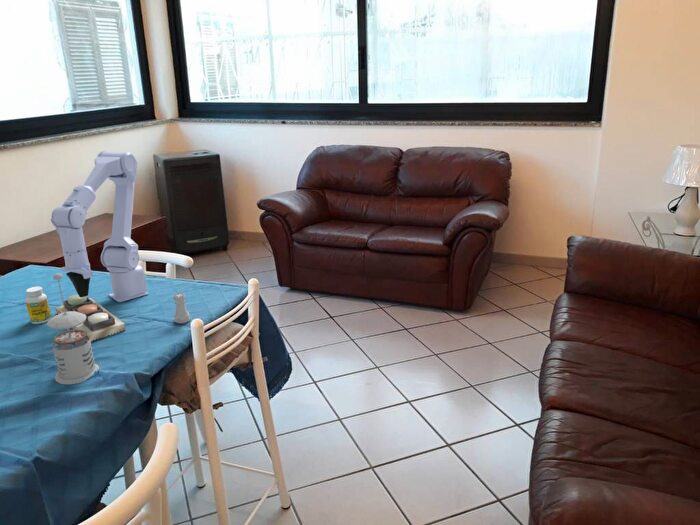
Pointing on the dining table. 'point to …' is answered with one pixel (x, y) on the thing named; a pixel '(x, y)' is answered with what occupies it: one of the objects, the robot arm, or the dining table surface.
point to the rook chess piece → (181, 309)
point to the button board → (98, 328)
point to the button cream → (97, 317)
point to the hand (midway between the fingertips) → (83, 295)
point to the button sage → (76, 300)
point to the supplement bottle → (37, 305)
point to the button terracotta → (87, 308)
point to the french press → (77, 359)
